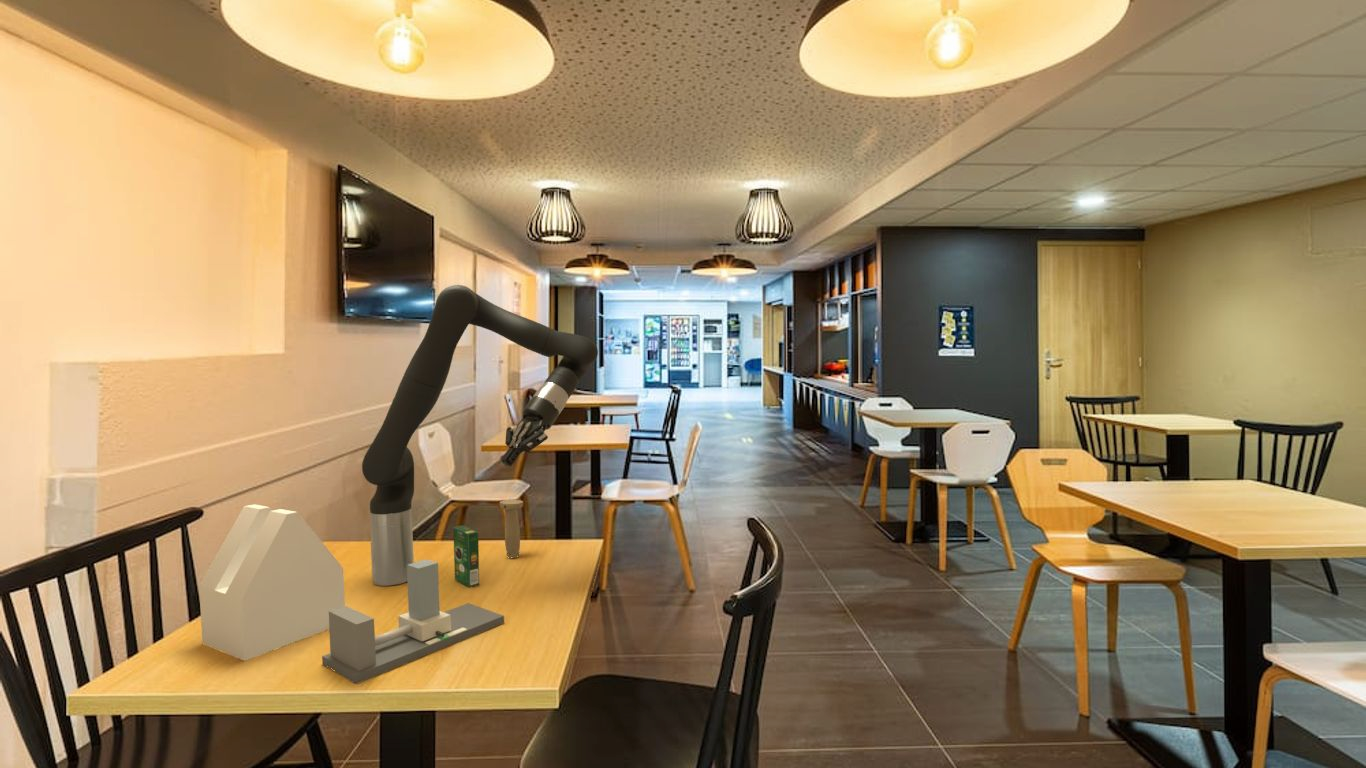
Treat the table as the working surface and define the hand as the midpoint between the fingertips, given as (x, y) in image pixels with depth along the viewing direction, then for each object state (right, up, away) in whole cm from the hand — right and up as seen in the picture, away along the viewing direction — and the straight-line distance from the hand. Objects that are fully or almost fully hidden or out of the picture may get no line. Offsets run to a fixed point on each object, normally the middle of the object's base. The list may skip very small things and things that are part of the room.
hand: (505, 463), depth 148 cm
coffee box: (-12, -30, +10) cm, 34 cm away
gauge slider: (-11, -29, -26) cm, 41 cm away
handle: (-6, -29, +29) cm, 41 cm away
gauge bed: (-10, -31, -23) cm, 40 cm away
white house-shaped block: (-41, -32, -17) cm, 55 cm away
